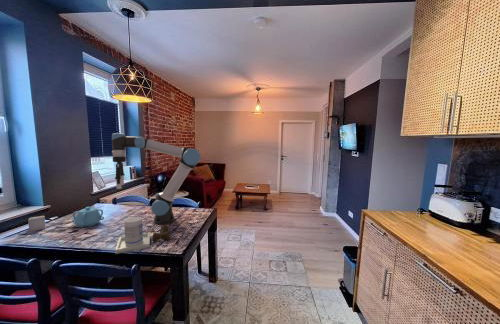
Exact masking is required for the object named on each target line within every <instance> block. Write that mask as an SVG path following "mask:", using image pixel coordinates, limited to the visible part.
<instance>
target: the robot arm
mask: <svg viewBox="0 0 500 324" xmlns="http://www.w3.org/2000/svg"><path fill="white" fill-rule="evenodd" d="M111 146H112V147H111V149H112V151H111V153H112V162H114V163H116V164H115V177H114V180H115V184H116V186H115V188H116V189H117V190H118V189H119V190H121V189H122V186H124V185H125V181H124V180H125V177H124V176H125V172H124V162H126V161H127V158H126V156H127V155H126V154H127V153H126V148H135V149H136V148H138V149H139V148H142V149H145V150H149V151H153V152H158V153H162V154H166V155H169V156H173V157H178V158H180V160H179V165H178V167H177V169H176V170H175V172H174V173H173V174H172V177H170V180H168V183H167V185H166V186H165V188H164V190H163V191H161V192H157V193H156V194H155V200H154V201H153V202H152V203H151V206H150V210H151V213H152V214H154V215H155V216H154V219H153V222H154V224H156V225H168V224H171V223H173V222H174V221H175V220H176V219H175V214H174V213H173V203H174V201H175V199H174V197H175V196H176V194H177V192H178V191H179V189H180V187H181V186H182V185H183V182H184V181H185V179H186V178H187V177H188V175H189V173H190V172H191V171H192V170H194V169H195V167H196V166H197V165H198V163H199V162H200V160H201V153H200V152H199V151H198V149H196V148H193V147H191V148H190V147H184V146H183V147H180V146H176V145H172V144H168V143H164V142H160V141H156V140H153V139H148V138H144V136H126V134H125V133H119V132H117V133H115V132H114V133H112V134H111Z"/></svg>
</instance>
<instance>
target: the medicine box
mask: <svg viewBox="0 0 500 324" xmlns="http://www.w3.org/2000/svg"><path fill="white" fill-rule="evenodd" d="M27 223H28V224H27V225H28V232H34V231H35V232H36V231H40V230H45V229H46V218H45V215H40V216H33V217H29V218H28V222H27Z"/></svg>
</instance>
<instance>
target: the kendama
mask: <svg viewBox="0 0 500 324" xmlns="http://www.w3.org/2000/svg"><path fill="white" fill-rule="evenodd" d="M169 228H170V227H169V225H168V224H162V225H161V226H160V229H159V231H160V232H159V233H158V232H153V234H152V241H153V242H156V241H161V240H166V241H169V240H170V236H171V234H170V230H169Z"/></svg>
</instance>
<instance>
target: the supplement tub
mask: <svg viewBox="0 0 500 324" xmlns="http://www.w3.org/2000/svg"><path fill="white" fill-rule="evenodd" d="M123 224H124V236H125V244H126V245H127V246H134V245H138V244H140V243H141V242H142V241H143V233H144V231H143V229H144V228H143V218H142V217H140V216H135V217H134V216H132V217H130V218H125V220H124V223H123Z"/></svg>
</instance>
